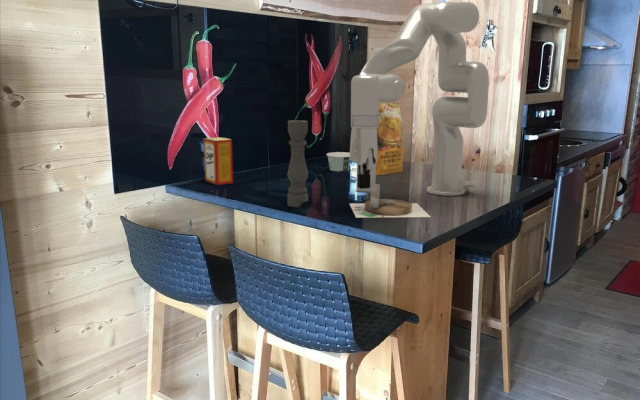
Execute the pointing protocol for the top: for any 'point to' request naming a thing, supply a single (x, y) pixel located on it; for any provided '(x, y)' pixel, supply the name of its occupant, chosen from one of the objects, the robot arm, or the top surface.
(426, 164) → the top surface
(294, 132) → the candle holder
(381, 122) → the pancake mix bag
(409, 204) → the dial
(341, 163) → the food container
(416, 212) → the dial plate
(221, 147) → the baking soda box
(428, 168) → the top surface
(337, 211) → the top surface
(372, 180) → the travel mug
